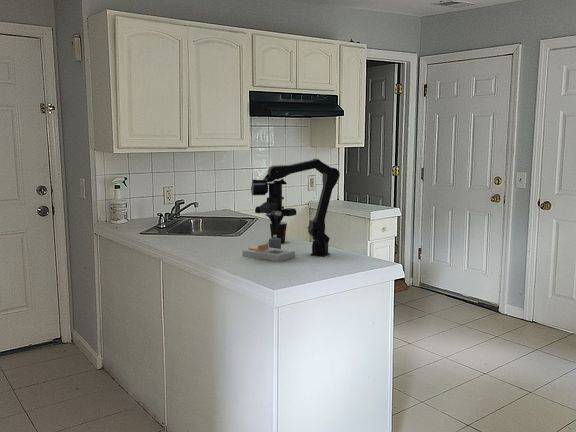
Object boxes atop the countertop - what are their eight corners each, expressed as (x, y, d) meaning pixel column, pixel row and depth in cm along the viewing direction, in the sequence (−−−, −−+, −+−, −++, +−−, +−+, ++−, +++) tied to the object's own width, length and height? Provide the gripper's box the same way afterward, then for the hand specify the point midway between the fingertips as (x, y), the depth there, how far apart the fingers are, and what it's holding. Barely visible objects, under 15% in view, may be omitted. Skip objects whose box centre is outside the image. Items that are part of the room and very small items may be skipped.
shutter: (268, 248, 249) (268, 243, 249) (259, 251, 244) (259, 246, 244) (257, 246, 253) (257, 242, 253) (248, 249, 248) (248, 244, 247)
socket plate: (294, 256, 245) (294, 251, 244) (278, 261, 235) (278, 256, 235) (259, 251, 256) (259, 245, 256) (242, 255, 247) (242, 250, 246)
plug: (281, 251, 256) (281, 235, 255) (275, 252, 253) (275, 236, 252) (274, 250, 259) (274, 234, 258) (268, 251, 256) (268, 235, 254)
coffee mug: (275, 240, 282) (275, 221, 281) (290, 242, 278) (290, 222, 277) (262, 244, 272) (262, 224, 271) (277, 246, 268) (277, 225, 267)
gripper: (246, 195, 239) (247, 230, 241) (281, 198, 228) (281, 235, 230) (262, 193, 248) (263, 227, 250) (297, 195, 237) (297, 231, 239)
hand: (275, 230), depth 242 cm, fingers closed
